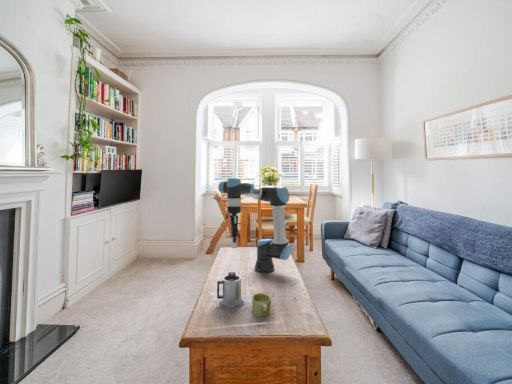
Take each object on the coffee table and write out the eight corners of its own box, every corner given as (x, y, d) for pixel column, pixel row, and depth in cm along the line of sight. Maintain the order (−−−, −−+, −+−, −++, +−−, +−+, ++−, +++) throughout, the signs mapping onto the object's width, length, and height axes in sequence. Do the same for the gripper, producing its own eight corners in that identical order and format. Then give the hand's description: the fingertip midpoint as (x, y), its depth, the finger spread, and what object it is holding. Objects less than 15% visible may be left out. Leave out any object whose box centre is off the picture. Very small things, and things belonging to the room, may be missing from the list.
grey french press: (239, 298, 143) (239, 274, 142) (241, 306, 133) (242, 280, 133) (216, 300, 140) (216, 275, 140) (217, 308, 131) (217, 282, 130)
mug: (248, 303, 134) (254, 288, 132) (266, 309, 135) (272, 293, 133) (247, 320, 122) (254, 303, 120) (267, 326, 123) (274, 309, 121)
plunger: (237, 294, 141) (237, 270, 140) (238, 299, 134) (238, 275, 134) (225, 295, 140) (225, 271, 139) (226, 301, 133) (226, 276, 133)
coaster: (242, 297, 145) (242, 296, 145) (246, 309, 132) (246, 308, 132) (218, 299, 143) (218, 298, 143) (219, 311, 129) (219, 310, 129)
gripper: (226, 204, 144) (226, 245, 146) (228, 207, 132) (228, 251, 133) (239, 204, 146) (239, 244, 147) (242, 206, 133) (242, 250, 134)
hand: (234, 247), depth 140 cm, fingers closed
